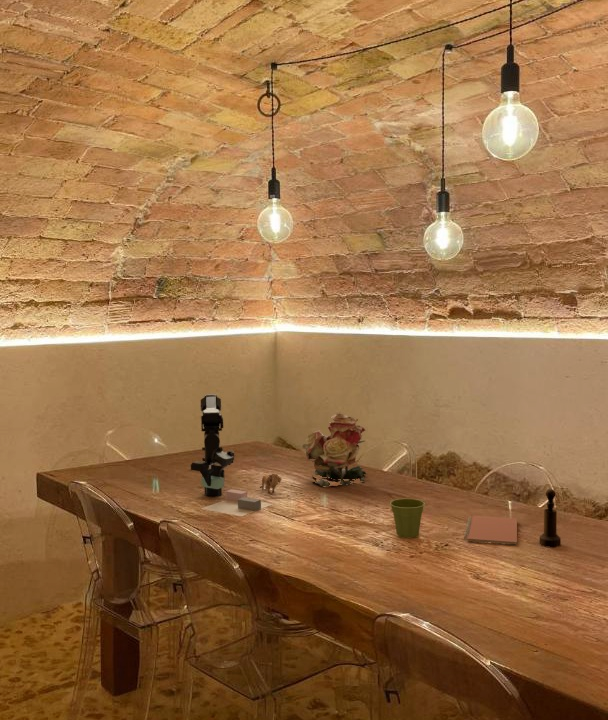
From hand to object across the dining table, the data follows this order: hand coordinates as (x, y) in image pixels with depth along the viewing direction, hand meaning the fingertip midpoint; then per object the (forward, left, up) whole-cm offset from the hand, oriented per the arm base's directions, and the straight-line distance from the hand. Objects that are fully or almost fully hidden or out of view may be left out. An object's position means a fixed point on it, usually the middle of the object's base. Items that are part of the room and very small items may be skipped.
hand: (212, 485), depth 290 cm
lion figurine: (+3, +33, -10) cm, 34 cm away
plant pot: (+77, +10, -10) cm, 78 cm away
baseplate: (+6, +7, -10) cm, 13 cm away
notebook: (+99, +29, -10) cm, 104 cm away
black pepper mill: (+120, +26, -10) cm, 123 cm away
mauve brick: (0, +14, -9) cm, 17 cm away
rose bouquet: (+16, +64, -10) cm, 67 cm away
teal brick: (0, 0, -1) cm, 1 cm away
